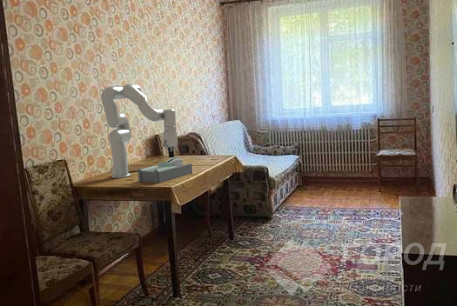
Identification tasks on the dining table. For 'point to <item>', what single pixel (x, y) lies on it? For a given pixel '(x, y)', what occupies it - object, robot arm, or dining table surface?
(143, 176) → the housing
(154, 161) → the dining table surface
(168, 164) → the lid
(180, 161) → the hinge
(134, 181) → the dining table surface
